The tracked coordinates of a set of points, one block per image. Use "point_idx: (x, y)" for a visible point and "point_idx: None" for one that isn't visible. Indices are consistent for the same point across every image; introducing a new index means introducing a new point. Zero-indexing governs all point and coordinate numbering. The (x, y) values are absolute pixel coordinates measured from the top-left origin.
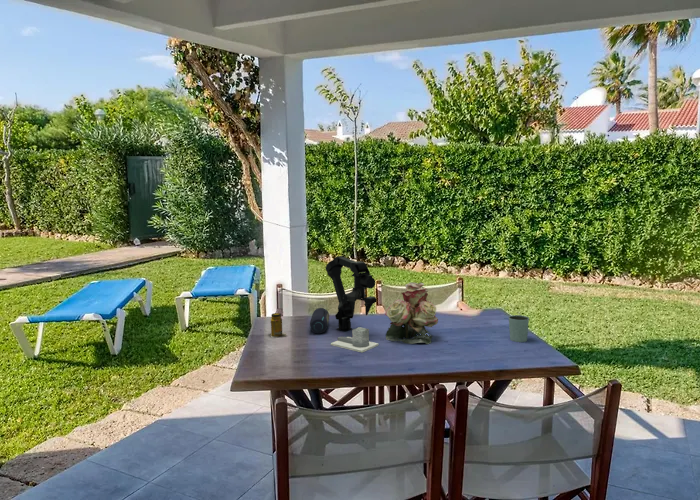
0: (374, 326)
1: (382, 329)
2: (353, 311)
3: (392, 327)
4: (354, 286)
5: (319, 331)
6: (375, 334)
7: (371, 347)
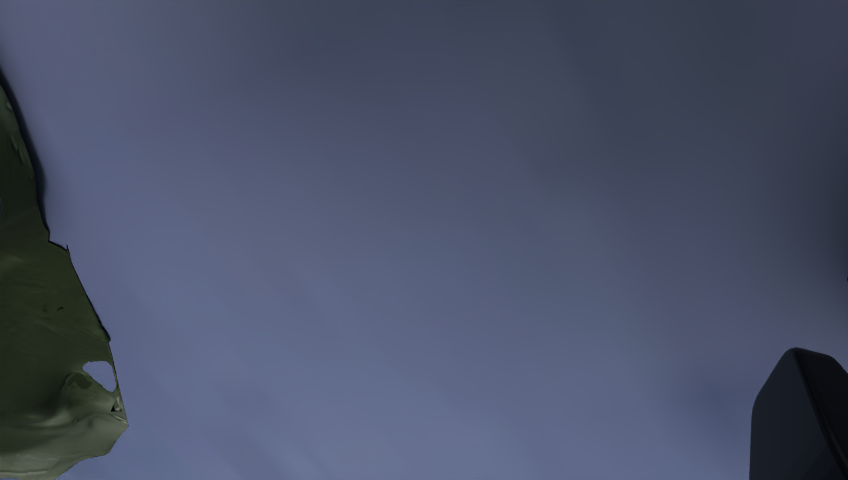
0: (510, 462)
1: (331, 376)
2: (770, 428)
3: None
4: None
5: None
6: (271, 126)
7: None
